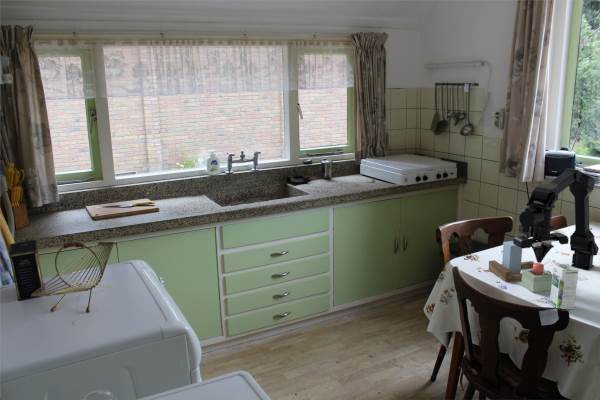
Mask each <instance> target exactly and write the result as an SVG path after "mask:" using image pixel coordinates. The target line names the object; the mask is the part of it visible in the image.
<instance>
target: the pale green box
mask: <svg viewBox="0 0 600 400" xmlns="http://www.w3.org/2000/svg"><path fill="white" fill-rule="evenodd" d="M547 271H548V270H546V269H544V271H543V274H535V273H533V268H531V269H523V270H522V271H521V273H522V280H521V282H520V283H521V286H522V287H524V288H525V289H526V290H528V291H529V292H531V293H532V294H533V293H542V292H551V286H552V276H553V273H552V272H551V273H549V272H547Z"/></svg>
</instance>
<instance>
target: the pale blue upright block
mask: <svg viewBox="0 0 600 400" xmlns="http://www.w3.org/2000/svg"><path fill="white" fill-rule="evenodd" d="M522 257H523V248H520V247H518V246H516V245H515V244H513V240H511V241H509V240H508V241H503V245H502V258H501V259H502V261H501V264H502V265H503V266H504V267H506V268H507V269H509V270H511V271H512V274H521V273H522V271H521V269H522V268H521V262H522Z"/></svg>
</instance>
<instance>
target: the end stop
mask: <svg viewBox="0 0 600 400" xmlns="http://www.w3.org/2000/svg"><path fill="white" fill-rule="evenodd" d="M501 264H502V263H499V262H498V261H497V260H488V271H489V272H490V273H492V274H493V275H495V276H496V277H498V278H500V279H501V280H502V281H503V282H505V283H506V282H507V283H508V282H512V281H511V277H512V271H511V270H509V269H507V268H506V267H504V266H503V265H501Z"/></svg>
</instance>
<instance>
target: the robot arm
mask: <svg viewBox="0 0 600 400" xmlns="http://www.w3.org/2000/svg"><path fill="white" fill-rule="evenodd" d="M595 185H596V180H595V178H594V177H593V176H592V175H589V174H586V173H584V172H582V171H581V170H579V169H573V168H565V169H564V171H563V172H562V173H561V174H559V175H558V176H556V177H555V178H554V179H553V180H551V181H550V182H548V183H544V184H542V183H541V184H540V185H538V186H536V187H535V188H534V189H533V190H532V192H531V194H530V196H529V198H528V201H527V203H526V205H525V206H527V207H525V208H524V211H522V212H521V213H520V214H519V216H518V221H519V223H520V224H518V233H519V234H523V235H519V236H515V237H513V240H512V241H513V244H515V245H516V246H518V247H520V248H522V249H530V248H532V250H533V253H534V257H535V261H536V263H541V264H542V262H543V260H544V259H545V258H546V256H547V254H548V253H549V252H550V251H551V250H552V249H553V248H554V247H555V246H554V245H553V244H552V243H553V242H558V243H559V244H560V245H568V244H569V246H570V251H571V252H573V253H572V257H571V265H570V266H572V267H574V268H576V269H581V270H585V271H589V270H591V269H592V268H594V267H595V265H594V264H593V263H594V256H597V255H598V253H599V246H598V244H597V243H596V239H595V235H594V233H593V232H592V231H591V229H590V195H591V193H592V192H593V191H594V187H595ZM567 188H568V189H569V191H570V193H571V194H572V196H573V198H574V222H575V223H574V227H575V228H574V229H575V230H574V231H573V233H572V234H571V235H570V236H569V237H568V236H567V234H563V233H561V232H559V231H558V232H551V230H552V229H554V226H553V225H552V215H553V209H555V208H556V206H555V203H556V202H557V201H558V199H559V195H560V193H562V192H563V191H564V190H565V189H567ZM527 235H528V237H527ZM569 240H570V241H569Z"/></svg>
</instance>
